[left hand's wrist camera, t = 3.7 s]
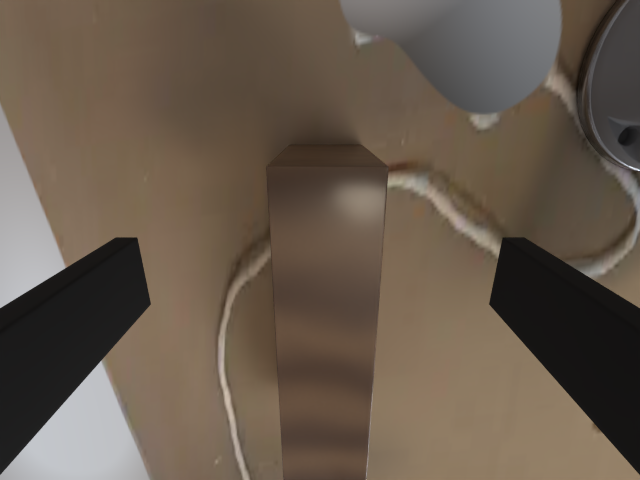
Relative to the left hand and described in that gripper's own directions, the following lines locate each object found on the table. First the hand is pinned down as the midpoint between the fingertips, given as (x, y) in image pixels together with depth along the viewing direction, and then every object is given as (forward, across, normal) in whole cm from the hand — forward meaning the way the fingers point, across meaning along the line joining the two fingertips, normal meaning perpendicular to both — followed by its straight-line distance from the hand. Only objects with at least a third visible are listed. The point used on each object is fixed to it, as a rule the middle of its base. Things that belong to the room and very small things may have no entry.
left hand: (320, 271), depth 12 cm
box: (+17, 0, -10) cm, 20 cm away
